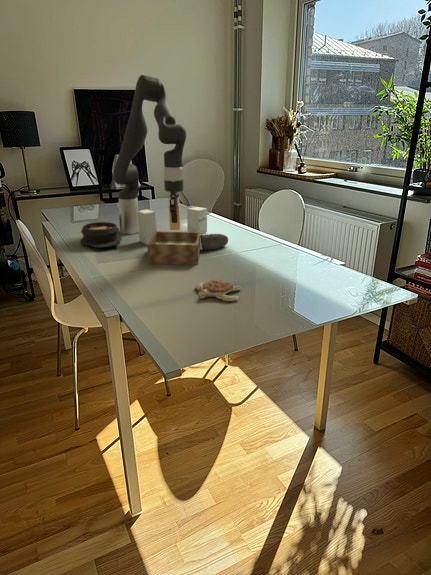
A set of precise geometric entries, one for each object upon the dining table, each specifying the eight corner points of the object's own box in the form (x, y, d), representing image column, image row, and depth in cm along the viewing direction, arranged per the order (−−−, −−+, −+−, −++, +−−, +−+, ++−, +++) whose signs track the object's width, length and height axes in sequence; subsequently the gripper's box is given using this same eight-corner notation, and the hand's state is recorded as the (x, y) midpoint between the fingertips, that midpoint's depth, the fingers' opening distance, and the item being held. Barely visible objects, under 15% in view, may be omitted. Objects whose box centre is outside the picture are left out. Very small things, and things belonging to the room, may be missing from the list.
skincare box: (157, 243, 195) (156, 211, 189) (146, 245, 192) (144, 213, 186) (150, 239, 201) (148, 208, 196) (138, 241, 198) (136, 210, 193)
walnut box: (148, 263, 169) (147, 244, 166) (155, 248, 187) (154, 231, 184) (198, 264, 169) (197, 245, 166) (200, 249, 187) (200, 232, 184)
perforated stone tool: (225, 244, 195) (225, 230, 192) (231, 247, 190) (231, 232, 188) (196, 249, 188) (196, 234, 185) (202, 252, 183) (202, 237, 181)
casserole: (75, 239, 200) (73, 222, 197) (113, 234, 209) (112, 218, 205) (87, 253, 180) (85, 234, 177) (129, 248, 188) (128, 229, 185)
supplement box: (198, 235, 208) (198, 210, 203) (186, 233, 212) (186, 208, 208) (207, 232, 214) (207, 208, 209) (196, 230, 218) (196, 206, 213)
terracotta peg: (169, 230, 172) (169, 205, 168) (171, 227, 175) (170, 203, 172) (179, 230, 172) (179, 205, 168) (180, 227, 175) (180, 203, 172)
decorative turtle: (180, 293, 143) (180, 279, 141) (215, 281, 153) (215, 268, 151) (218, 310, 131) (218, 295, 129) (253, 295, 141) (254, 281, 139)
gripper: (166, 176, 172) (167, 217, 179) (161, 181, 159) (163, 225, 166) (184, 176, 172) (185, 217, 179) (181, 181, 159) (182, 225, 166)
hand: (175, 221), depth 172 cm, fingers closed on terracotta peg, 4 cm apart
